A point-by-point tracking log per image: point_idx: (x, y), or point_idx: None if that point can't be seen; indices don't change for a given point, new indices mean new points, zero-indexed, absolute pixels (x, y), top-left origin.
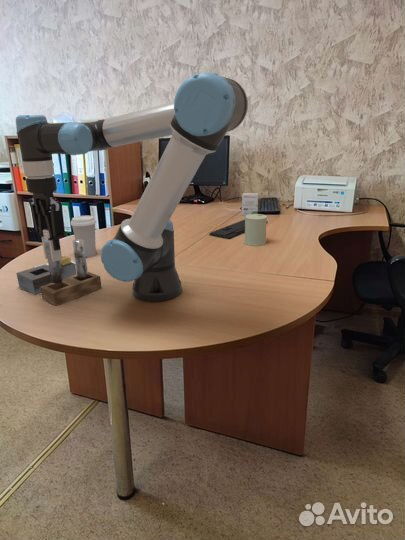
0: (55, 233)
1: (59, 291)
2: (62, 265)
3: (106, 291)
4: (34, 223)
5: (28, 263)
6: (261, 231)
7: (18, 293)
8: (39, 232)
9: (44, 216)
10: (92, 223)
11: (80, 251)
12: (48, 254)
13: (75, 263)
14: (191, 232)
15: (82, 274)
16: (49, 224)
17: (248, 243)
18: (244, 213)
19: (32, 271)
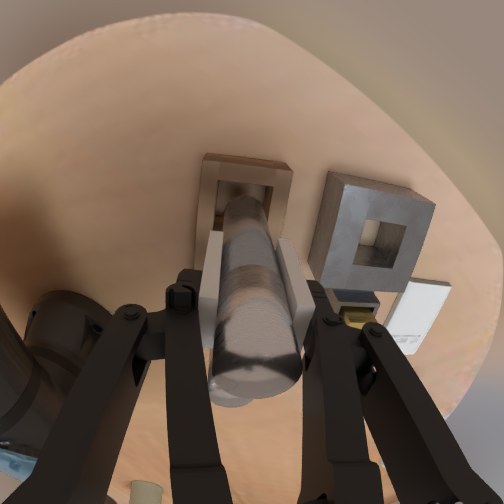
0: (104, 330)
1: (201, 182)
2: (344, 311)
3: (164, 289)
4: (408, 369)
5: (475, 297)
6: (130, 499)
7: (383, 158)
8: (343, 328)
9: (312, 456)
10: (381, 460)
11: (211, 355)
12: (244, 245)
13: None
14: (264, 491)
15: None
16: (167, 392)
17: (146, 484)
18: None
19: (402, 237)
